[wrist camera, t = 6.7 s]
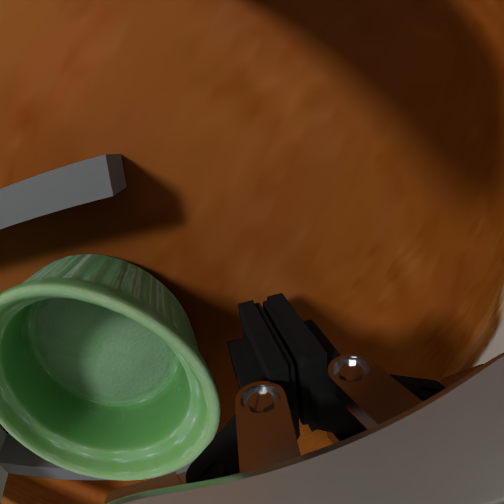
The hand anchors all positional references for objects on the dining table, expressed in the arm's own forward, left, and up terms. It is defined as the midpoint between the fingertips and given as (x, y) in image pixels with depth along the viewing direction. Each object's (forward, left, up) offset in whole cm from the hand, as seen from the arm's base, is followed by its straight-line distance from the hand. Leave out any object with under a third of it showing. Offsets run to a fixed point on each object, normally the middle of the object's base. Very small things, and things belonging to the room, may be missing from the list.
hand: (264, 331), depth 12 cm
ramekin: (+7, 0, -2) cm, 7 cm away
